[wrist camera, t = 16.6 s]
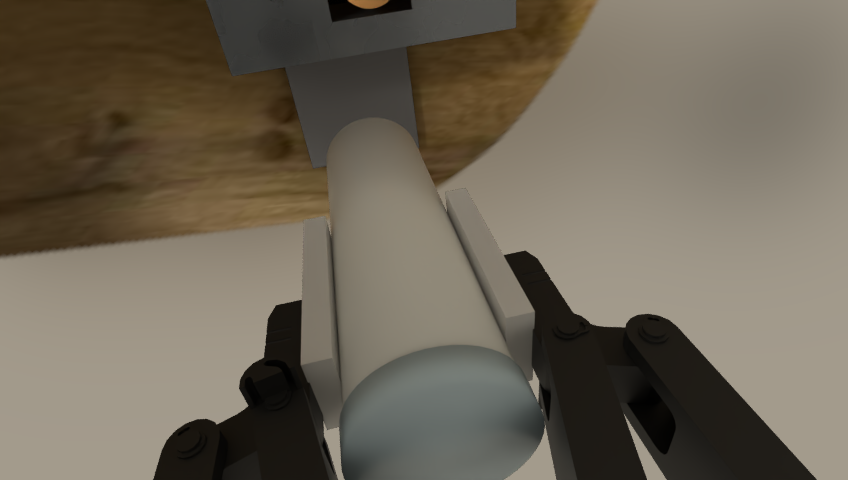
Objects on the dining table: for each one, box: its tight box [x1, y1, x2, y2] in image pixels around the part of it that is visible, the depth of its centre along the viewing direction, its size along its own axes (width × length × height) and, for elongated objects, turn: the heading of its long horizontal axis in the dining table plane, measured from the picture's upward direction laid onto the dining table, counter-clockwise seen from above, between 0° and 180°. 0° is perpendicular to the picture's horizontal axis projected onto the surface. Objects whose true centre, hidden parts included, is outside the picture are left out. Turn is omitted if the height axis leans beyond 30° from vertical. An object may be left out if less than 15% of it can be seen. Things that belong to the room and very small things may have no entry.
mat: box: [285, 47, 419, 169], centre depth 29 cm, size 7×7×1 cm
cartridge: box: [326, 118, 545, 480], centre depth 17 cm, size 5×5×15 cm
